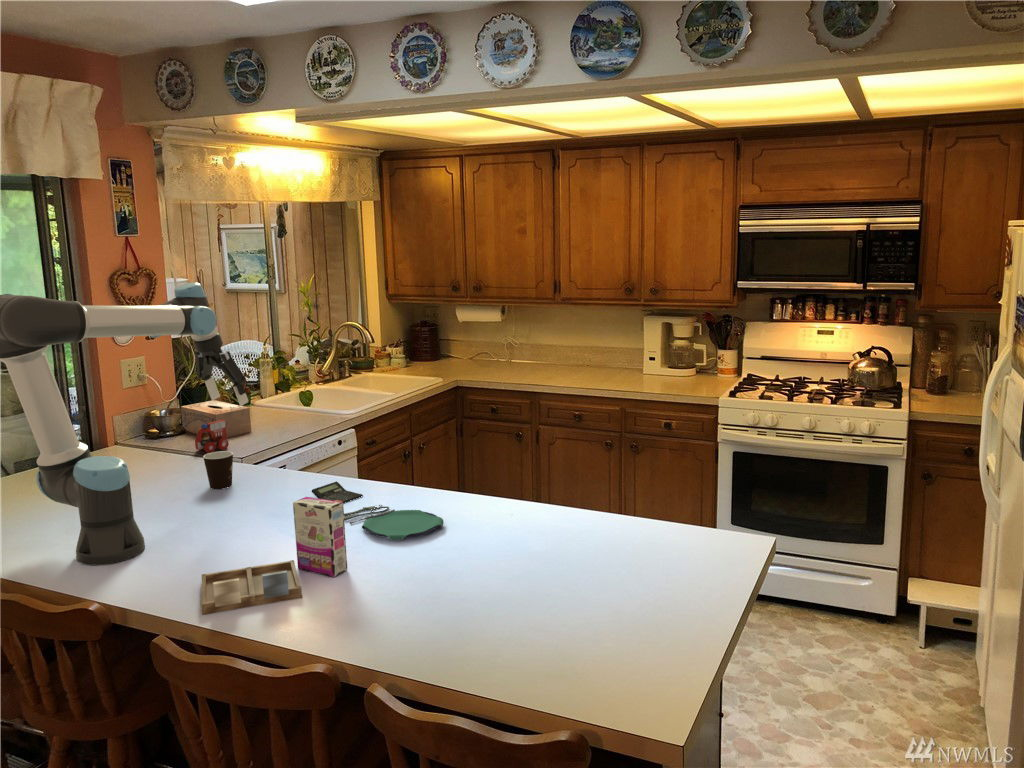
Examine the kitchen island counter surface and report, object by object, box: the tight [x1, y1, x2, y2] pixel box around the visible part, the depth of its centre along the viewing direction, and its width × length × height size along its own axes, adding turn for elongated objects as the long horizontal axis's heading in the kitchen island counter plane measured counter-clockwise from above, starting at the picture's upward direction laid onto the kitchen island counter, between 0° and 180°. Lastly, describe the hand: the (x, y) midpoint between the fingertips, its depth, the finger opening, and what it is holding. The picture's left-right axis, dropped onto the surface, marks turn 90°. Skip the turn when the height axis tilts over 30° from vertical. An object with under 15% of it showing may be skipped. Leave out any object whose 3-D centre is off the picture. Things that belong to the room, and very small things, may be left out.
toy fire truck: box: [194, 420, 229, 454], centre depth 290 cm, size 7×12×10 cm, turn 141°
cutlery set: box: [344, 504, 444, 541], centre depth 213 cm, size 20×30×2 cm, turn 44°
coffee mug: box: [202, 450, 234, 490], centre depth 248 cm, size 12×9×10 cm
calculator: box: [311, 481, 364, 504], centre depth 235 cm, size 9×12×3 cm
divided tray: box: [200, 559, 303, 616], centre depth 174 cm, size 20×16×6 cm
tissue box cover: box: [180, 399, 252, 438], centre depth 318 cm, size 26×14×10 cm, turn 51°
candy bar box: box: [292, 496, 348, 578], centre depth 183 cm, size 11×5×16 cm, turn 62°
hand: (230, 401), depth 239 cm, fingers open, 13 cm apart
